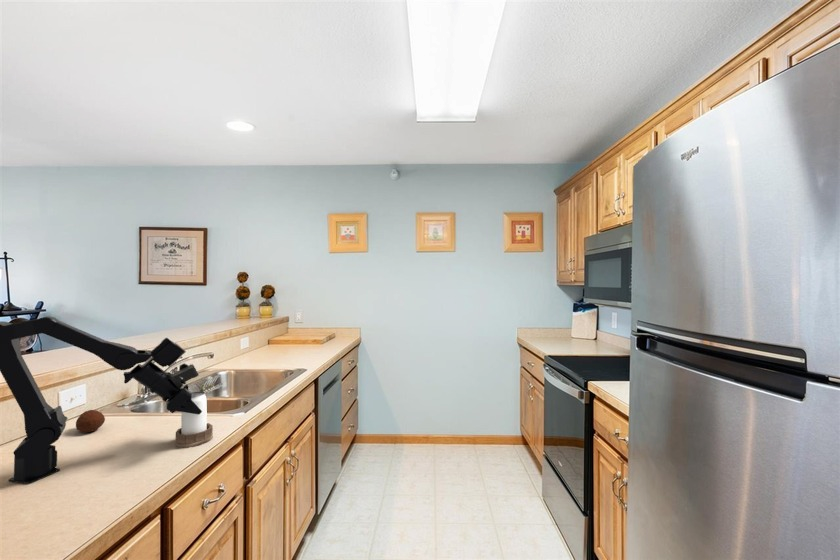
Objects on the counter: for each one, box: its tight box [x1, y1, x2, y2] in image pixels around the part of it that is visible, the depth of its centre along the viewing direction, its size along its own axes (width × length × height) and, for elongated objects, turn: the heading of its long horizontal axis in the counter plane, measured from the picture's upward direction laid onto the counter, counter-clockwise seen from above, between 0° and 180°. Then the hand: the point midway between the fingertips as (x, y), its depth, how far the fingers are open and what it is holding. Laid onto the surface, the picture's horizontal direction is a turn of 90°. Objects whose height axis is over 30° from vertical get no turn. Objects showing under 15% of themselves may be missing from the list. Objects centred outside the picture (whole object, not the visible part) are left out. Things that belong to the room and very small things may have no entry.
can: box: [180, 391, 208, 435], centre depth 108 cm, size 6×6×12 cm
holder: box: [174, 422, 214, 449], centre depth 108 cm, size 10×10×4 cm
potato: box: [75, 409, 106, 433], centre depth 115 cm, size 7×9×6 cm
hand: (199, 410), depth 109 cm, fingers closed on can, 6 cm apart
